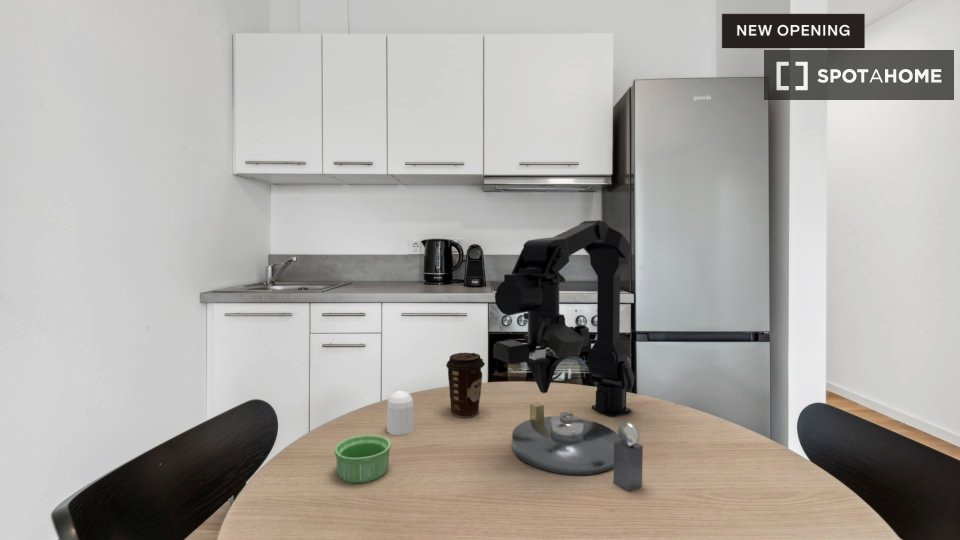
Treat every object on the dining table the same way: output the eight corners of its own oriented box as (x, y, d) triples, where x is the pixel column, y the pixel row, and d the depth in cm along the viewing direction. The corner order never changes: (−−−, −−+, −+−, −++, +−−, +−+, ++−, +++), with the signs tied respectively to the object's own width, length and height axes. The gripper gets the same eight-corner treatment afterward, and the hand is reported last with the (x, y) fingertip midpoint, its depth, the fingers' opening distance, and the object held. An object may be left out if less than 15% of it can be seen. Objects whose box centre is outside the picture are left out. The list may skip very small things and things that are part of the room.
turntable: (571, 419, 95) (571, 395, 95) (647, 456, 78) (647, 428, 77) (492, 438, 85) (492, 411, 85) (559, 486, 68) (559, 453, 68)
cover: (568, 428, 85) (568, 406, 85) (590, 439, 80) (590, 417, 80) (543, 434, 82) (543, 412, 82) (564, 446, 77) (564, 423, 77)
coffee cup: (486, 407, 103) (486, 352, 102) (482, 420, 95) (483, 360, 94) (449, 405, 104) (449, 351, 103) (443, 418, 96) (443, 359, 95)
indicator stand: (625, 477, 71) (626, 417, 71) (642, 487, 68) (644, 424, 68) (612, 481, 70) (613, 421, 69) (629, 492, 67) (630, 428, 66)
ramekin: (400, 463, 76) (400, 438, 76) (371, 490, 67) (371, 462, 67) (356, 455, 79) (356, 431, 78) (323, 480, 70) (322, 453, 70)
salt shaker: (415, 424, 92) (415, 387, 92) (412, 435, 87) (411, 395, 87) (389, 424, 92) (389, 387, 92) (385, 435, 87) (384, 395, 87)
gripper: (528, 319, 68) (528, 417, 69) (613, 309, 78) (613, 396, 79) (491, 310, 78) (491, 396, 79) (571, 302, 87) (571, 379, 88)
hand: (543, 392), depth 81 cm, fingers closed
